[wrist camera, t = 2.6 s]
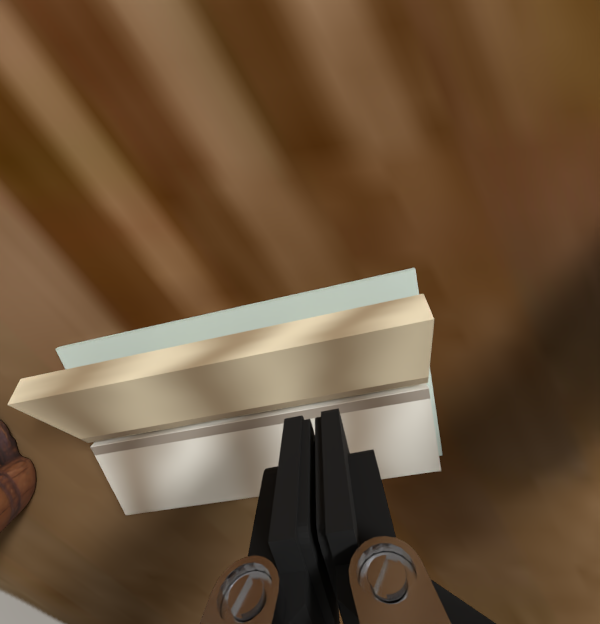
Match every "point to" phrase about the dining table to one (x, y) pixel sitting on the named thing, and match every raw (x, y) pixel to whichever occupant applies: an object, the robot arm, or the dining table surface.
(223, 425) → the laid board
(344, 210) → the dining table surface
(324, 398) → the plank
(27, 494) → the wooden figurine
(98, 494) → the dining table surface
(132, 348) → the underlay
